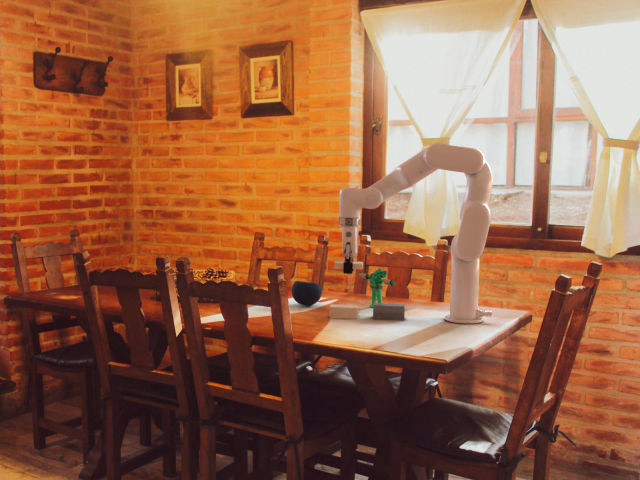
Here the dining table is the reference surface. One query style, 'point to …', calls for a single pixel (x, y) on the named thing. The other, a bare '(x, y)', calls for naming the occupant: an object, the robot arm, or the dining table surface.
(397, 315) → the grey book
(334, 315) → the cream book
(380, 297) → the toy
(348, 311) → the cream book
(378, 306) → the grey book
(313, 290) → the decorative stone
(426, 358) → the dining table surface
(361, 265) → the cream book
